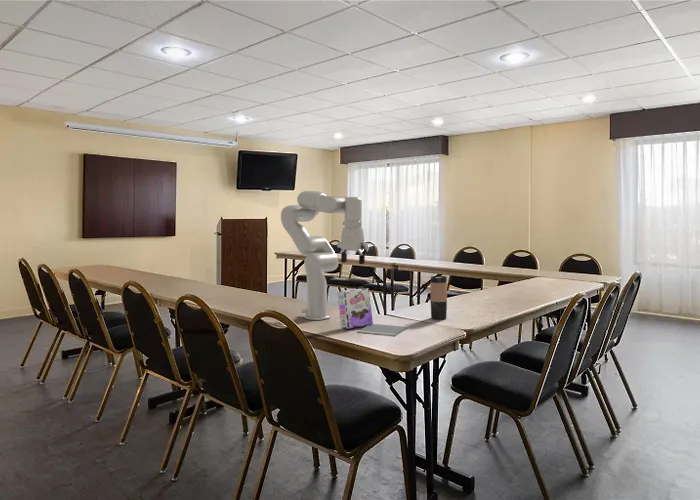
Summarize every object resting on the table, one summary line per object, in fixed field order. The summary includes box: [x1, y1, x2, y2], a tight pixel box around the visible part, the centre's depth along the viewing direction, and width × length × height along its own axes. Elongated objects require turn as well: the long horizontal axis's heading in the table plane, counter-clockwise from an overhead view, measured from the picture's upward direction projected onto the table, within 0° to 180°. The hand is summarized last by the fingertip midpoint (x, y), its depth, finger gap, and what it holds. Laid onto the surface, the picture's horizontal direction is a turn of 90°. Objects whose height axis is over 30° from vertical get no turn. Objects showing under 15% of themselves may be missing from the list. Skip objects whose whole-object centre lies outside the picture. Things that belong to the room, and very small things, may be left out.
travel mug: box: [430, 275, 448, 321], centre depth 237 cm, size 8×8×20 cm
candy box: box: [337, 288, 374, 329], centre depth 222 cm, size 14×6×16 cm, turn 126°
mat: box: [357, 322, 409, 337], centre depth 216 cm, size 17×16×1 cm
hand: (352, 263), depth 223 cm, fingers open, 9 cm apart
